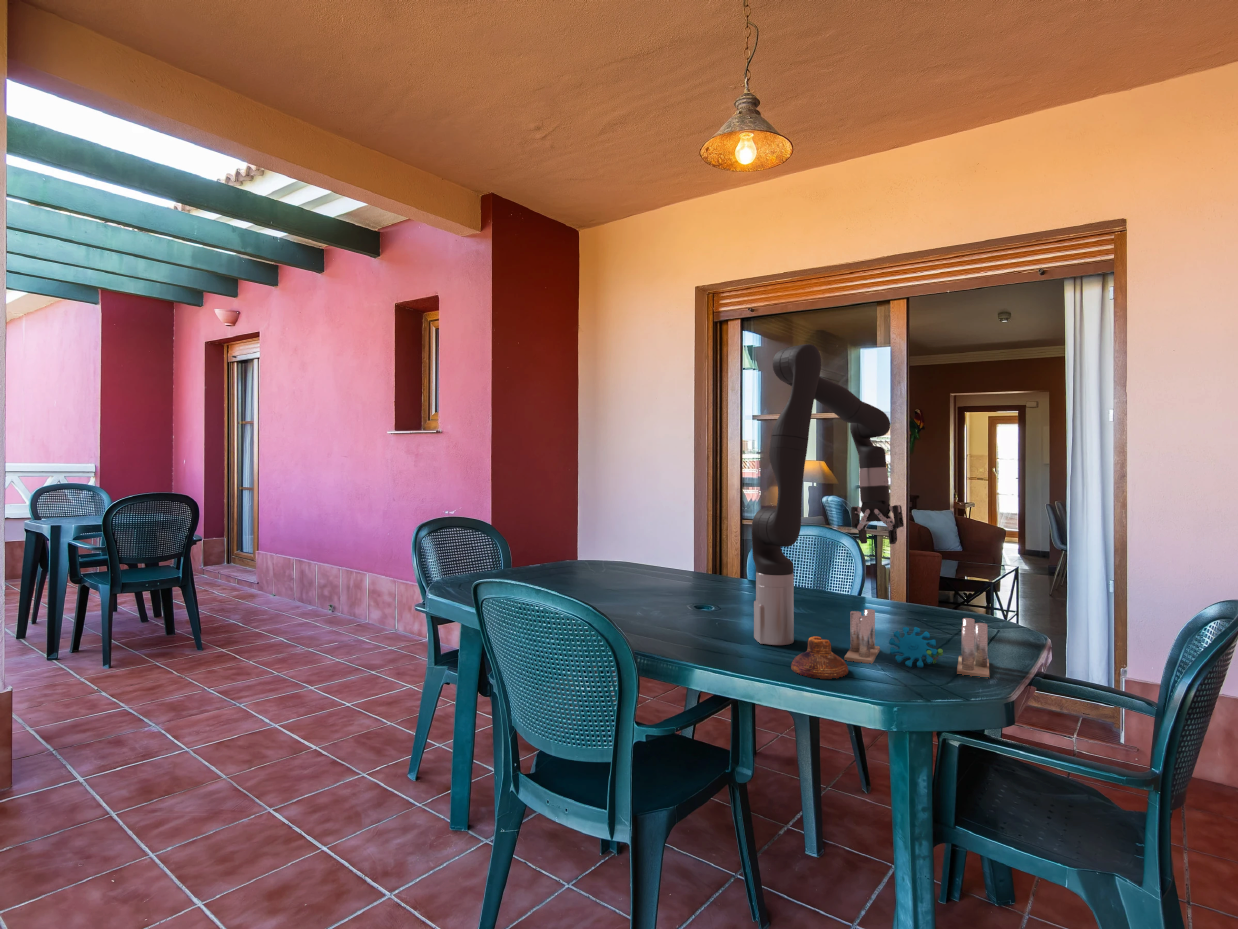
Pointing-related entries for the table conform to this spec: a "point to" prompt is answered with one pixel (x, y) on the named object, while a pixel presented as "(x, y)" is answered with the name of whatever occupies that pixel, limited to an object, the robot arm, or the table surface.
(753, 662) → the table surface
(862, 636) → the spacers
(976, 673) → the rack
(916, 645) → the gear
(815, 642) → the bell
